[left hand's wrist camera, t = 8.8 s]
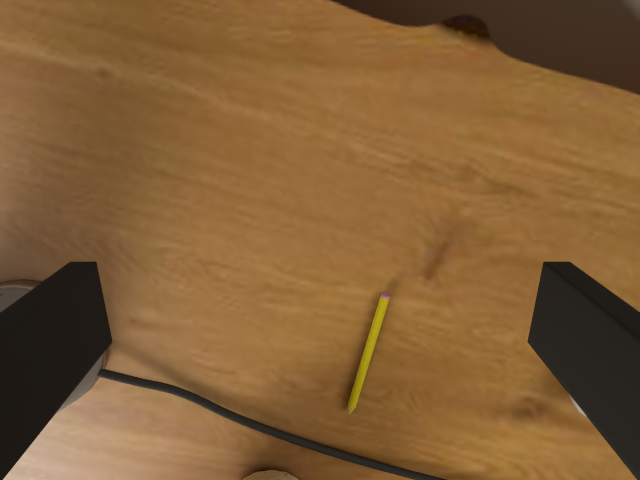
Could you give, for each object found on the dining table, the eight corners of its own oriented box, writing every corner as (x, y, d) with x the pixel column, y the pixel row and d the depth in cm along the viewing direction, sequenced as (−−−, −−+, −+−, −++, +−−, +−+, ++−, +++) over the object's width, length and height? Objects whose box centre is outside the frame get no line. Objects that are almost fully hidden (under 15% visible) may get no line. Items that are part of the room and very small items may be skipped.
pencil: (380, 291, 46) (381, 296, 45) (389, 293, 46) (391, 297, 45) (344, 411, 51) (344, 417, 50) (352, 412, 51) (353, 419, 50)
